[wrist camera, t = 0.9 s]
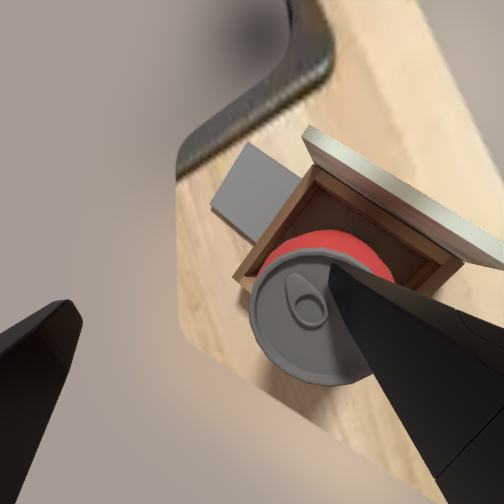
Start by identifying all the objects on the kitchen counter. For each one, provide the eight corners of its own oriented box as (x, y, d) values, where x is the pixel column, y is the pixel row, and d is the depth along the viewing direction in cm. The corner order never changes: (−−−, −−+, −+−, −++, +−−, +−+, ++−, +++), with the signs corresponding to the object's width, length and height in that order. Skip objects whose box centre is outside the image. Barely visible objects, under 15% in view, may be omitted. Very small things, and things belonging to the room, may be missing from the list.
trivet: (303, 180, 21) (302, 179, 20) (258, 243, 23) (256, 243, 22) (249, 143, 22) (247, 141, 22) (211, 204, 24) (209, 204, 24)
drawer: (455, 250, 17) (535, 261, 10) (343, 359, 20) (340, 428, 13) (323, 165, 20) (309, 124, 13) (245, 272, 23) (198, 288, 16)
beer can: (347, 213, 19) (351, 198, 8) (390, 284, 19) (457, 373, 8) (279, 251, 22) (211, 280, 11) (315, 315, 21) (283, 417, 10)
